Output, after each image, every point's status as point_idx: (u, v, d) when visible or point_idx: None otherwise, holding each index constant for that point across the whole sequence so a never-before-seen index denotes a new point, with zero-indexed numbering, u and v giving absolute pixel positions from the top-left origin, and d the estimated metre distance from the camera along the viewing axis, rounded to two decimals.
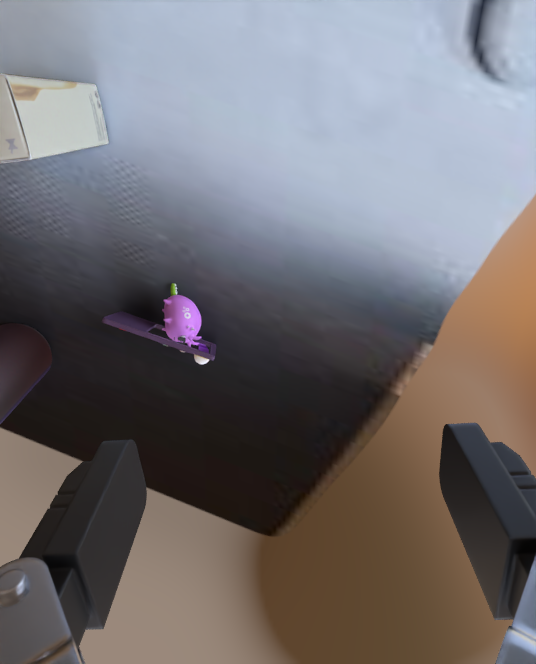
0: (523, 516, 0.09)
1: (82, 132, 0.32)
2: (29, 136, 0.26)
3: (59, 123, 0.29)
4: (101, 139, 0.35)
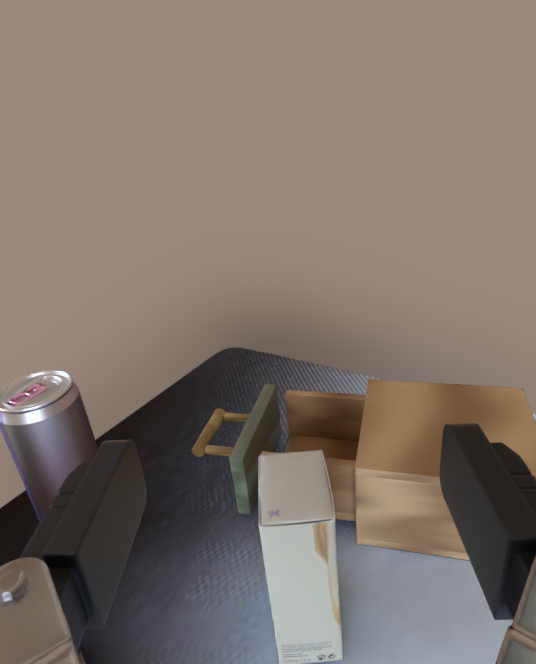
0: (523, 516, 0.09)
1: (289, 618, 0.29)
2: (280, 531, 0.26)
3: (295, 580, 0.27)
4: (283, 650, 0.30)
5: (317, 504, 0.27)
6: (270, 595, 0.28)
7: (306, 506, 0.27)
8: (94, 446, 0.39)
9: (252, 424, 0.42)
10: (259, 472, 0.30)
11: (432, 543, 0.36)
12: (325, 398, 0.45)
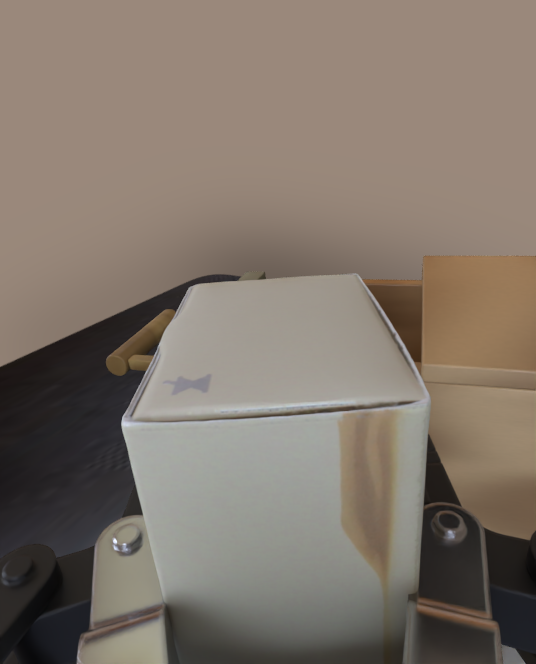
0: None
1: None
2: (206, 444, 0.06)
3: (270, 636, 0.08)
4: None
5: (352, 361, 0.07)
6: None
7: (312, 365, 0.07)
8: None
9: None
10: (179, 309, 0.10)
11: None
12: None
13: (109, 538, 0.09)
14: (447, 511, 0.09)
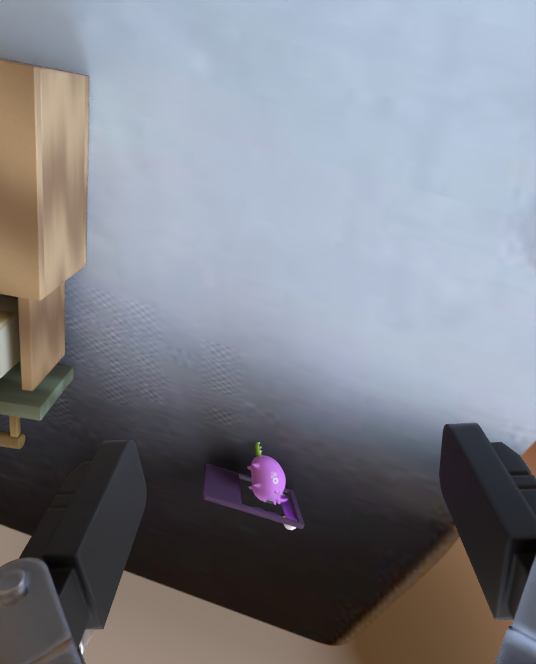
0: (523, 516, 0.09)
1: (8, 358, 0.34)
2: None
3: None
4: None
5: None
6: None
7: None
8: None
9: None
10: None
11: (81, 194, 0.34)
12: None
13: None
14: None
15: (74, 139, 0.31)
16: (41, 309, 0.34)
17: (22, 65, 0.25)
